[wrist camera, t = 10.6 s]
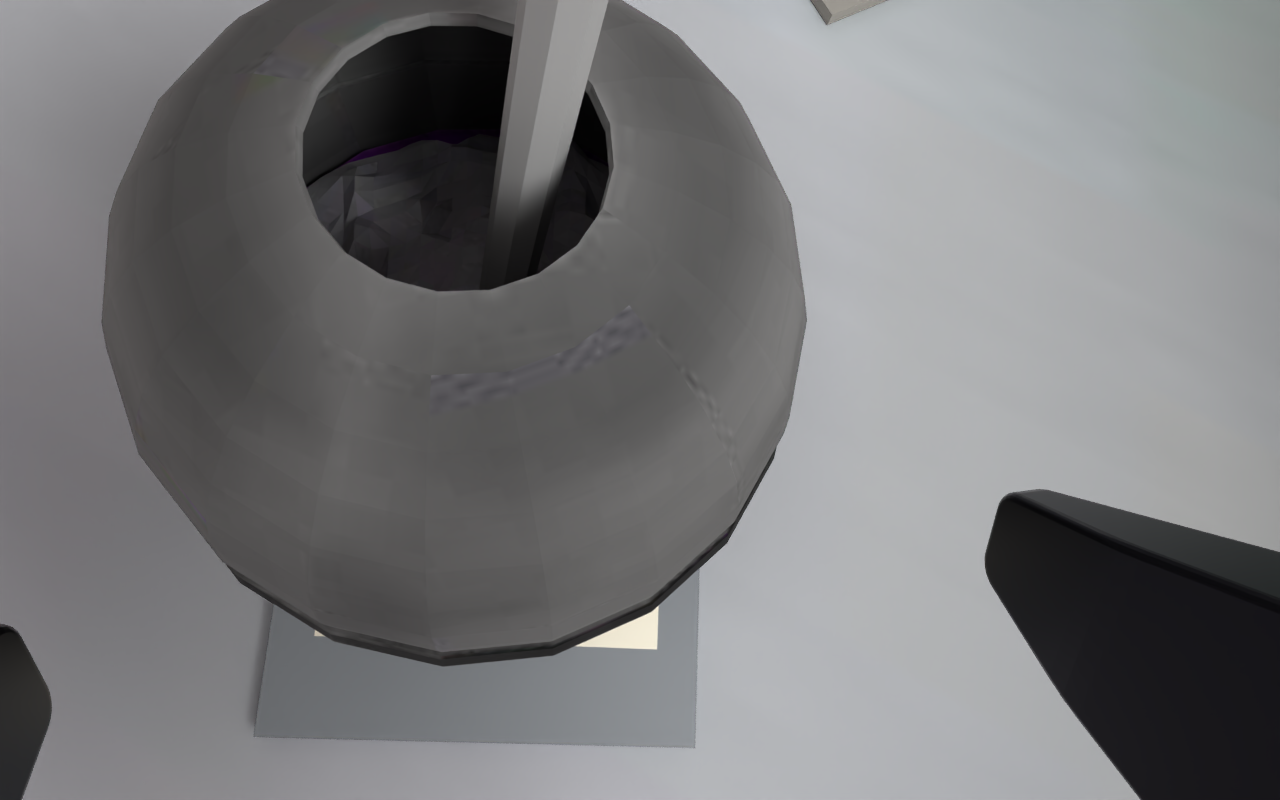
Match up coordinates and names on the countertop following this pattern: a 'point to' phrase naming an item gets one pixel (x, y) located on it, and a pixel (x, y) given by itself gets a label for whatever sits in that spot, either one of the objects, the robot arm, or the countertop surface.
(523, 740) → the letter card
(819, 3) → the skyscraper
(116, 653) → the countertop surface
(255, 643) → the countertop surface
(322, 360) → the beverage cup
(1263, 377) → the countertop surface
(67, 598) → the countertop surface
